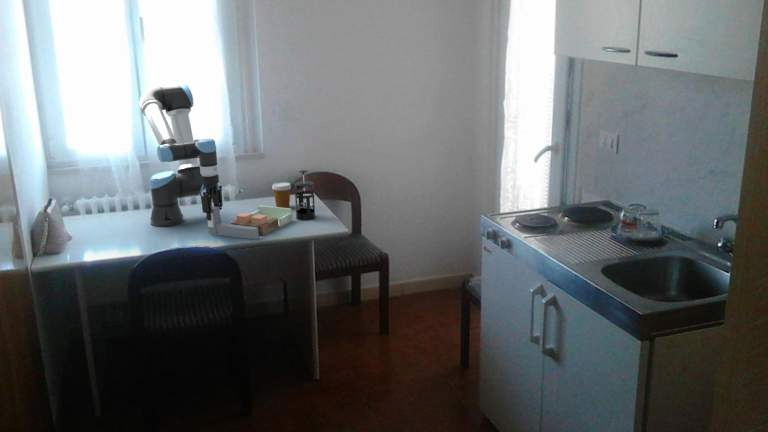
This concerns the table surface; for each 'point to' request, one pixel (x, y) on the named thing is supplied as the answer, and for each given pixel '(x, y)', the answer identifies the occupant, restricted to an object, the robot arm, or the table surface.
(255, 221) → the tile
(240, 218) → the tile
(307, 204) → the french press
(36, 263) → the table surface
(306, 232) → the table surface
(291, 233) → the table surface
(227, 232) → the scraper
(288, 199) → the disposable coffee cup
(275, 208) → the tray
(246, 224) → the brown wooden board
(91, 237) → the table surface
